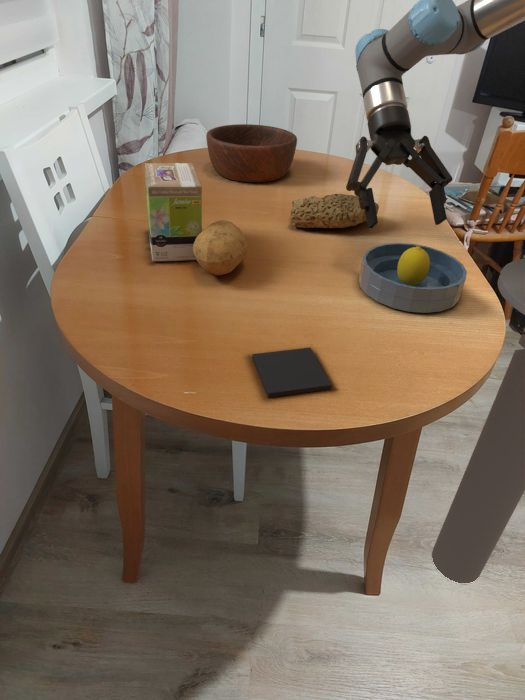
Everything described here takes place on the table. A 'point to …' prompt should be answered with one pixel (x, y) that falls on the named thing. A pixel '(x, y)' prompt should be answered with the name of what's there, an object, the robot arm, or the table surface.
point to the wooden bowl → (251, 152)
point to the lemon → (413, 266)
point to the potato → (220, 247)
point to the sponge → (328, 212)
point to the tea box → (173, 210)
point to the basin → (425, 297)
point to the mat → (290, 372)
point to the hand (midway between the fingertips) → (407, 224)
